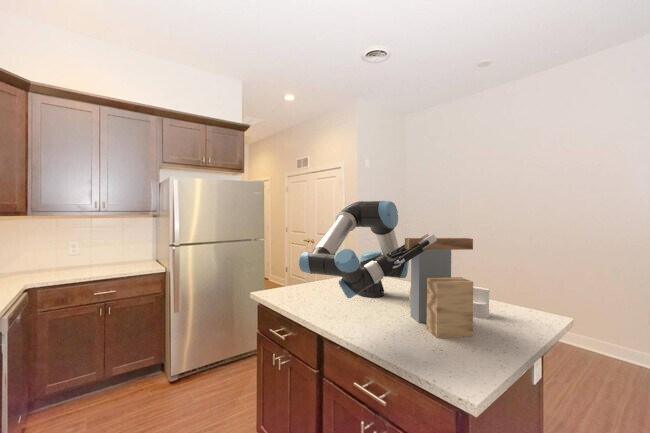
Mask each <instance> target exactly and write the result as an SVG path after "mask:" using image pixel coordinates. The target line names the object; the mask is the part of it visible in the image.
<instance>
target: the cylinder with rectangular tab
mask: <svg viewBox="0 0 650 433" xmlns="http://www.w3.org/2000/svg"><path fill="white" fill-rule="evenodd" d="M489 317H490V288H487V287H480V286H474V285H473V318H478V319H487V318H489Z"/></svg>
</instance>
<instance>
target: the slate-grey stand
mask: <svg viewBox="0 0 650 433" xmlns="http://www.w3.org/2000/svg"><path fill="white" fill-rule="evenodd" d="M423 251H424V252H422V253H420V254H419V255H417V256H415V257H414V258H412V259H411V260H410V288H411V306H410V317H411V318H412V319H413V320H415V322H417V323H418V324H425V323H426V324H427V278H449V277H452V250H423Z"/></svg>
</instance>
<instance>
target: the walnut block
mask: <svg viewBox="0 0 650 433" xmlns="http://www.w3.org/2000/svg"><path fill="white" fill-rule="evenodd" d="M423 239H425V238H419V237H404V244H405V249H409V248H411V247H413V246H415V245H417V244H418V242H420V241H422V240H423ZM436 239H437V241H435V242H434V243H432V244H430V245H429V246H427V247H425V248H424V249H423V250H451V251H453V250H457V251H459V250H463V251H464V250H469V251H470V250H474V238H470V237H436Z"/></svg>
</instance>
